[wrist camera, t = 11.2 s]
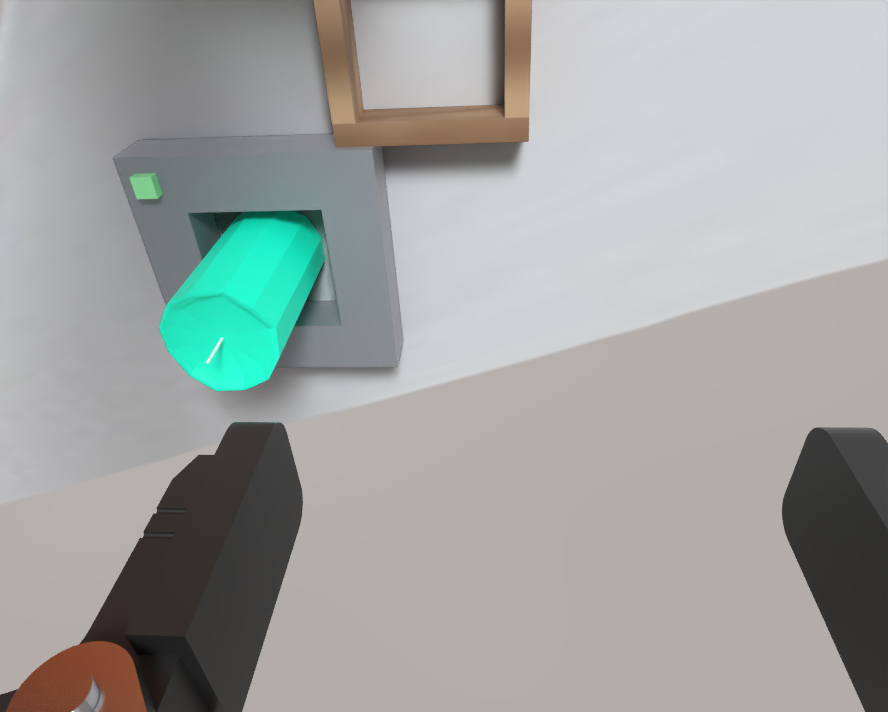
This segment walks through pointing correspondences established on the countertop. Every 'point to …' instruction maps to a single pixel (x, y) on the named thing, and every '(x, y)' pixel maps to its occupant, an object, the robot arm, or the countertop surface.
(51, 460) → the countertop surface
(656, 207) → the countertop surface
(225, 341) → the candle
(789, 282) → the countertop surface
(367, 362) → the frame
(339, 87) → the holder ring
